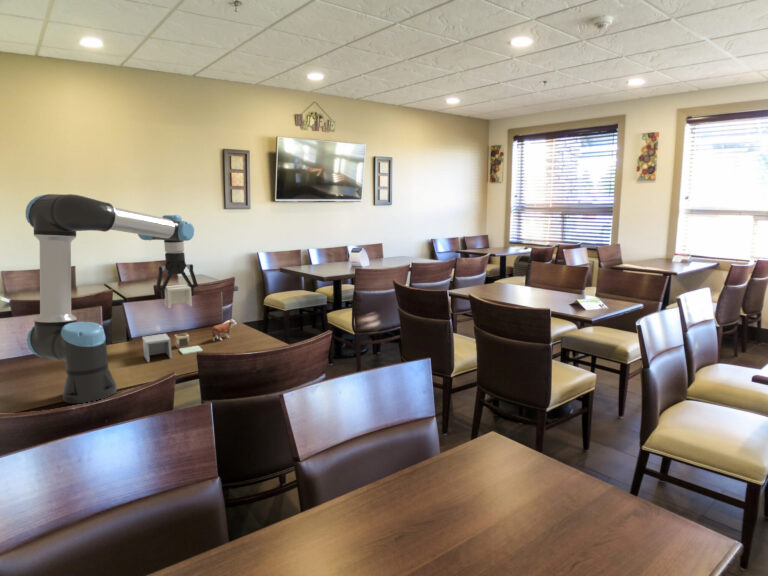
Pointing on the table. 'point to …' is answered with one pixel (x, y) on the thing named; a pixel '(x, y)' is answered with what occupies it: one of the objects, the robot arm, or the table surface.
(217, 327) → the bull figurine
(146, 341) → the grey hood
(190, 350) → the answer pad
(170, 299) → the cream hood
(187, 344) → the letter cube
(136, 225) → the robot arm
